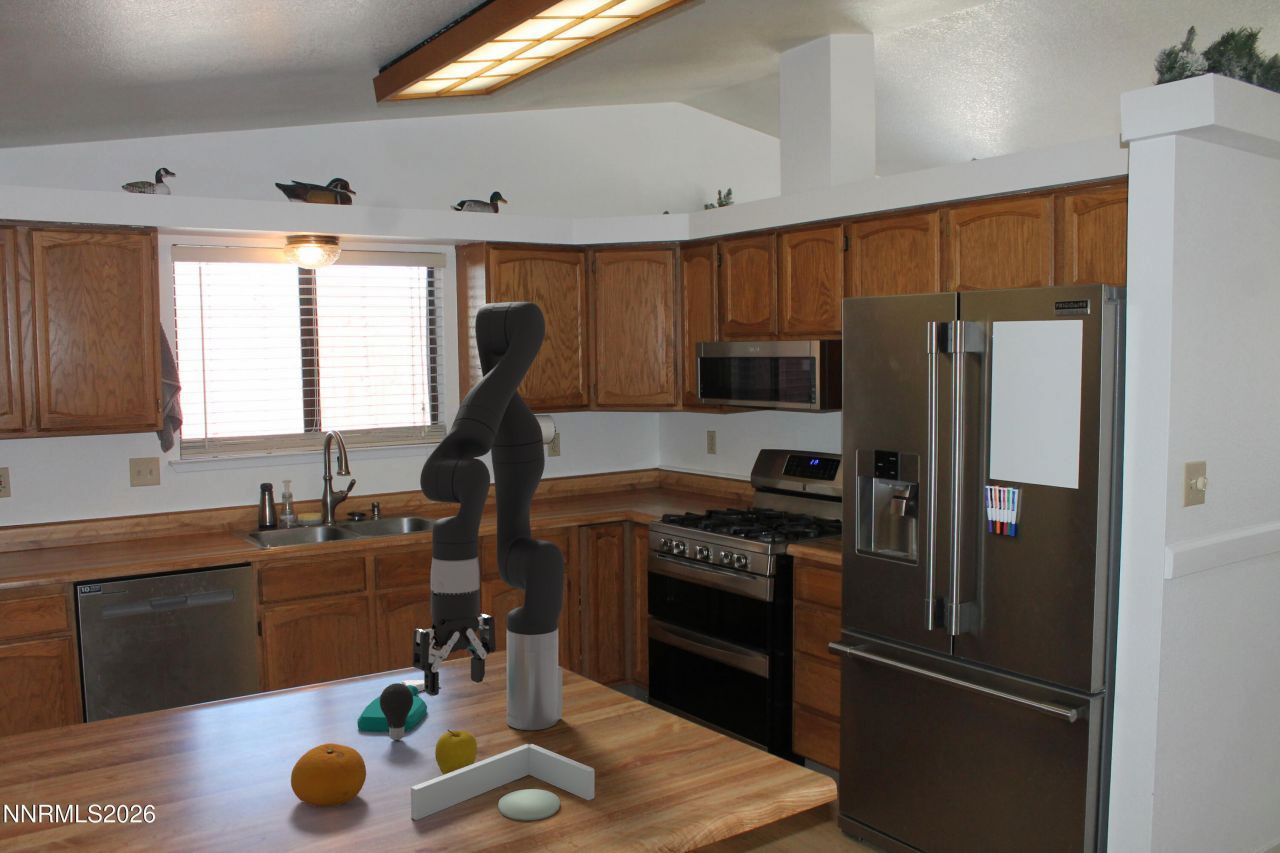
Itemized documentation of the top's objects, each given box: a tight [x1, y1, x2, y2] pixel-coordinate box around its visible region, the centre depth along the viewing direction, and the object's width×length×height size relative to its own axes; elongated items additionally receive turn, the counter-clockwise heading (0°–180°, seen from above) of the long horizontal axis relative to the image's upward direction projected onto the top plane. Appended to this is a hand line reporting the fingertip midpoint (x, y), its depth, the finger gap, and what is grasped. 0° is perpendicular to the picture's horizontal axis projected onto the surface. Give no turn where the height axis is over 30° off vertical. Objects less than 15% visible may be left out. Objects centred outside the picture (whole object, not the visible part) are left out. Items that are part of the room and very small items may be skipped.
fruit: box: [290, 743, 367, 808], centre depth 151 cm, size 10×10×8 cm
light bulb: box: [379, 682, 413, 743], centre depth 174 cm, size 6×6×10 cm
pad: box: [497, 788, 561, 822], centre depth 150 cm, size 9×9×1 cm
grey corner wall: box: [410, 743, 596, 821], centre depth 150 cm, size 23×15×4 cm, turn 138°
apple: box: [434, 729, 478, 775], centre depth 160 cm, size 6×6×8 cm
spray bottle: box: [357, 679, 441, 733], centre depth 190 cm, size 3×11×24 cm
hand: (455, 687), depth 159 cm, fingers open, 8 cm apart
